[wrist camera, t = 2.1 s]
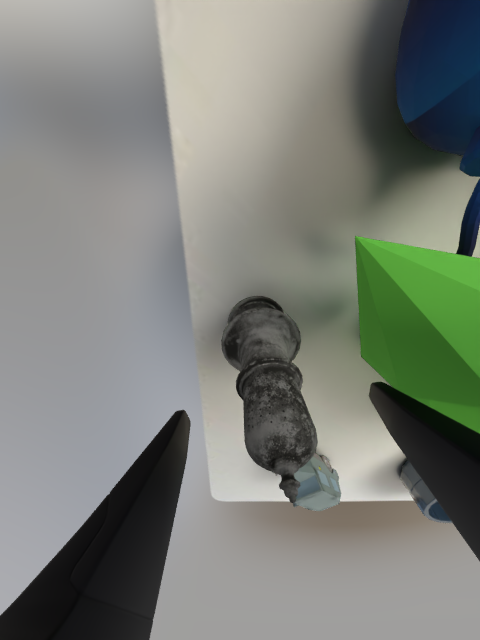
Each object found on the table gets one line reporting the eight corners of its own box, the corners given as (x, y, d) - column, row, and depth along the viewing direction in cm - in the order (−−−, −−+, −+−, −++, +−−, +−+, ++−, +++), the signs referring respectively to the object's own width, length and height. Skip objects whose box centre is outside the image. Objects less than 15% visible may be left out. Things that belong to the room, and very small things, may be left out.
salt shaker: (299, 328, 16) (420, 509, 6) (249, 359, 18) (265, 548, 7) (265, 278, 14) (349, 410, 3) (211, 318, 16) (152, 495, 5)
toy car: (288, 432, 23) (299, 478, 19) (331, 460, 26) (350, 505, 22) (254, 453, 25) (258, 498, 21) (298, 476, 28) (309, 520, 24)
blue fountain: (510, 431, 23) (566, 472, 19) (472, 479, 29) (510, 518, 25) (406, 443, 24) (440, 484, 20) (390, 487, 30) (414, 526, 26)
